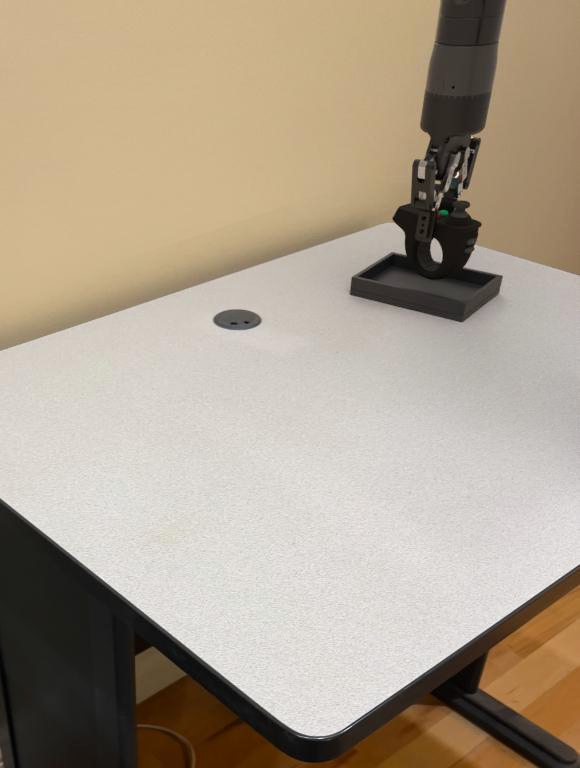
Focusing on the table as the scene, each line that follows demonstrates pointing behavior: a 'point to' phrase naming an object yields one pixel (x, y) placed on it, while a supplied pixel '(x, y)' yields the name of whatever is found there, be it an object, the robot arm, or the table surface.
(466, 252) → the controller
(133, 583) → the table surface
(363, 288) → the dock
